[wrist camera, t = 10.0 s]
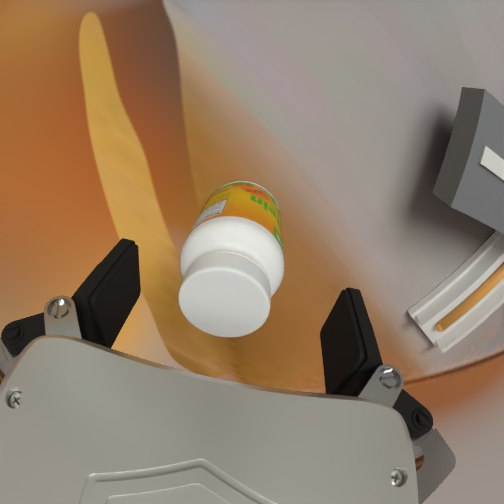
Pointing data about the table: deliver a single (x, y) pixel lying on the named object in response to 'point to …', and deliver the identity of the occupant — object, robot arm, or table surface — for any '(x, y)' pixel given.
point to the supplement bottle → (232, 261)
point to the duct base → (464, 296)
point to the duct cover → (475, 160)
